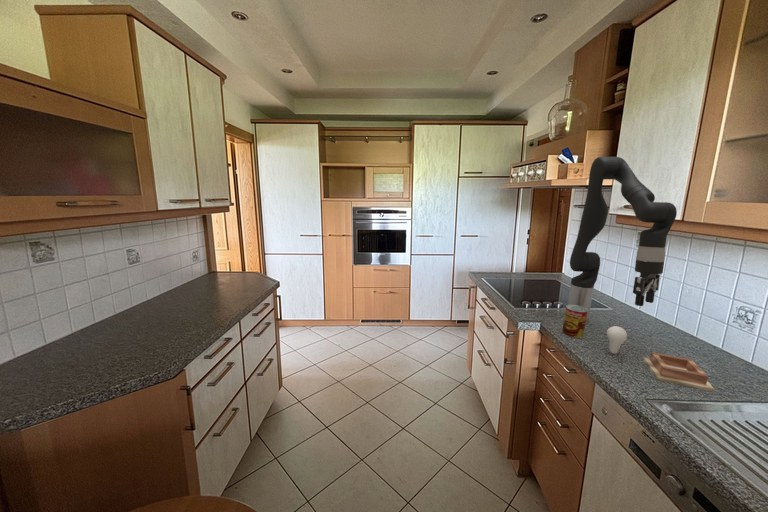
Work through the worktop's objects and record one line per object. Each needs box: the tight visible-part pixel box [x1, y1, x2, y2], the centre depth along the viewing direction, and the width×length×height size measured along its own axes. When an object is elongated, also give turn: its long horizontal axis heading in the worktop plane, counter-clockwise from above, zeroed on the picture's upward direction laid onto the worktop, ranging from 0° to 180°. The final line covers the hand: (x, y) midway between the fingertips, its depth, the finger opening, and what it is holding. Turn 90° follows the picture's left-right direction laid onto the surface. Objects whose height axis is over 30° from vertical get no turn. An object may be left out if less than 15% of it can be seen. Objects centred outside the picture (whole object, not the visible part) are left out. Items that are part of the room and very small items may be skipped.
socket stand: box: [642, 351, 716, 393], centre depth 102 cm, size 14×14×4 cm
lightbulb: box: [606, 325, 628, 355], centre depth 114 cm, size 6×6×11 cm
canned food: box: [561, 304, 588, 339], centre depth 130 cm, size 8×8×12 cm
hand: (644, 303), depth 108 cm, fingers open, 8 cm apart
